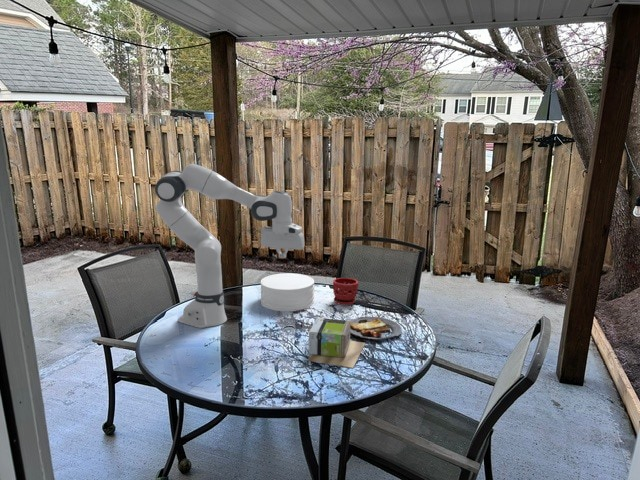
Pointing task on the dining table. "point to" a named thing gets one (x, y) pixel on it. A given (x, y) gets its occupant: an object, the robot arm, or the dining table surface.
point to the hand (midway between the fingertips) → (282, 257)
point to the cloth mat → (348, 361)
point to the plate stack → (287, 292)
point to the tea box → (329, 337)
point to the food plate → (374, 327)
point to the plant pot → (345, 290)
